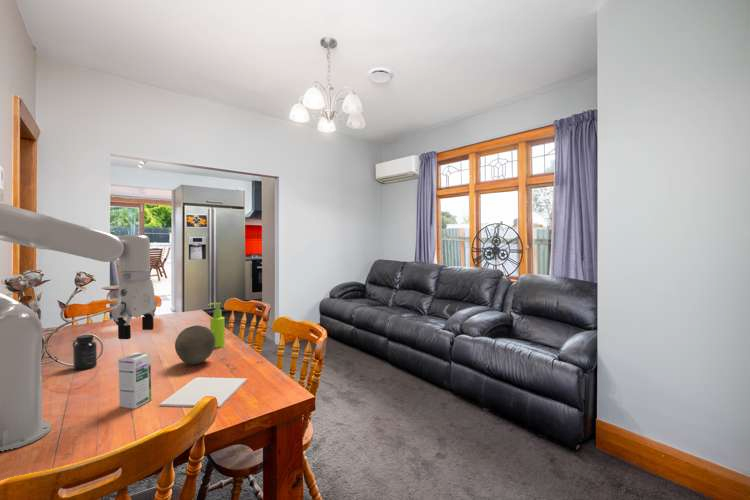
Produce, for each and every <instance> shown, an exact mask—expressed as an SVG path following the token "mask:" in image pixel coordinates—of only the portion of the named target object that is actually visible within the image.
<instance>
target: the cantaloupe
mask: <svg viewBox="0 0 750 500" xmlns="http://www.w3.org/2000/svg"><path fill="white" fill-rule="evenodd" d="M214 346H215V337H214V334H213V333H212V331H211V330H210V328H208V327H206V326H204V325H203V326H202V325H193V326H188V327H186V328H184V329H183V330H182V331H181V332H180V333H179V334H178V335H177V337H176V339H175V342H174V348H175V349H174V350H175V352H176V355H177V356H178V358H179V359H180V361H182V362H183V363H185V364H187V365H198V364H200V363H203V362H204V361H205V360H207V359H208V358H209V357H210V356H211V355H212V353H213V351H214V349H215V348H214Z"/></svg>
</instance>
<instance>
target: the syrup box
mask: <svg viewBox="0 0 750 500" xmlns="http://www.w3.org/2000/svg"><path fill="white" fill-rule="evenodd" d="M151 360H152V359H151V353H147V352H134V353H131V354H128V355H125V356H123V357H120V358H118V363H117V364H118V366H117V367H118V393H119V395H118V397H119V398H118V399H119V400H118V401H119V407H120V408H126V409H132V410H133V409H135V410H136V409H137V408H139V407H140V406H143V405H145V404H148V402H150V401H152V365H151V363H152V361H151Z"/></svg>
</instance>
